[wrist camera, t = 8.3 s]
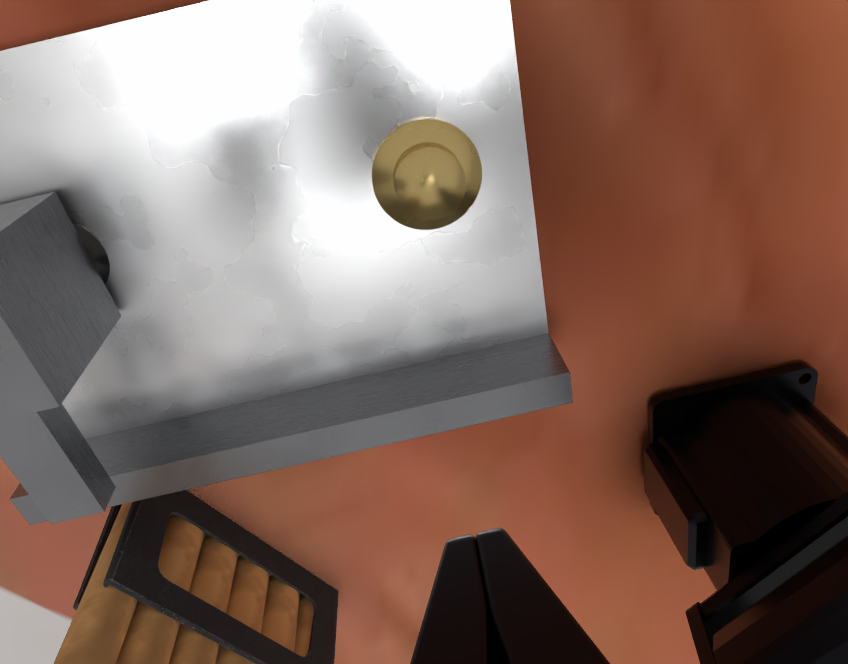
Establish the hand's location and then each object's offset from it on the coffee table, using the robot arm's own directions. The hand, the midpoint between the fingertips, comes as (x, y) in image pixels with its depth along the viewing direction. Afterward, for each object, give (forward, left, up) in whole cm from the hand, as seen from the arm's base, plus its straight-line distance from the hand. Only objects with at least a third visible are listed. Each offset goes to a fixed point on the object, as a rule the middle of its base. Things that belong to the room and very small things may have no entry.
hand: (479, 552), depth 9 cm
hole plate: (+5, -1, -13) cm, 14 cm away
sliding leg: (+11, 0, -11) cm, 16 cm away
